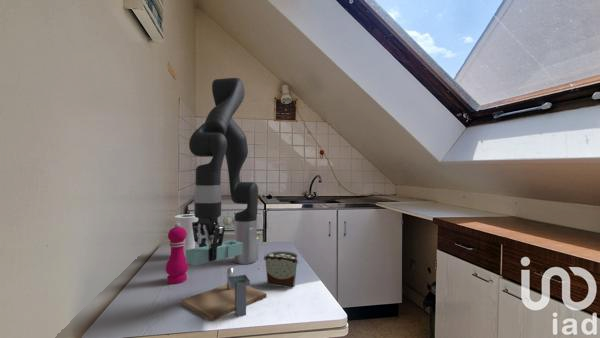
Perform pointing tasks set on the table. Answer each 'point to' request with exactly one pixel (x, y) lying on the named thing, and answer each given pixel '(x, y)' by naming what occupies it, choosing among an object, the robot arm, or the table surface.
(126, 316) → the table surface
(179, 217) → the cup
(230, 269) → the capsule
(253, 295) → the board
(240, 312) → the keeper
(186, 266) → the pepper mill
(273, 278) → the food container
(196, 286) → the table surface
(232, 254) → the teal bar with hole
